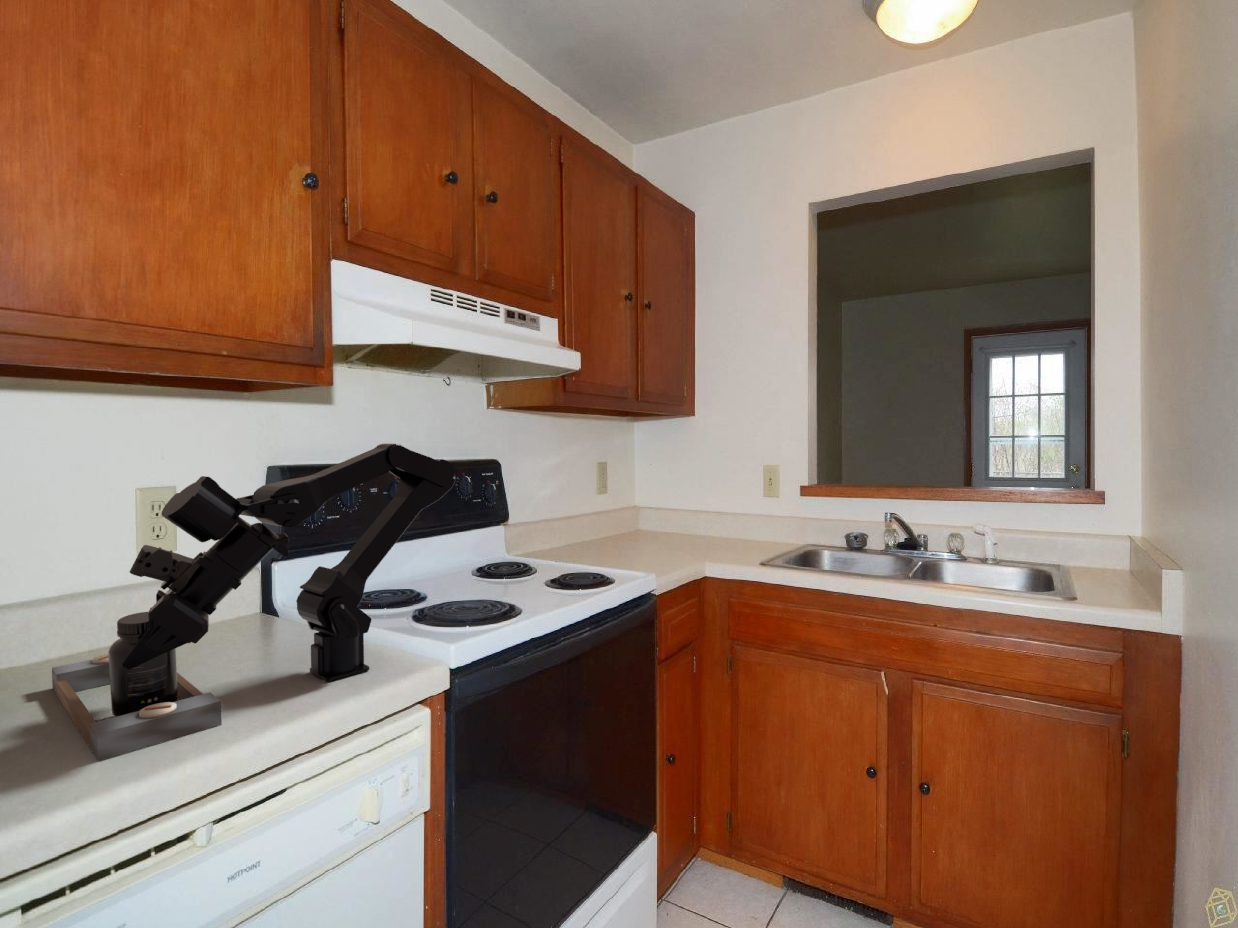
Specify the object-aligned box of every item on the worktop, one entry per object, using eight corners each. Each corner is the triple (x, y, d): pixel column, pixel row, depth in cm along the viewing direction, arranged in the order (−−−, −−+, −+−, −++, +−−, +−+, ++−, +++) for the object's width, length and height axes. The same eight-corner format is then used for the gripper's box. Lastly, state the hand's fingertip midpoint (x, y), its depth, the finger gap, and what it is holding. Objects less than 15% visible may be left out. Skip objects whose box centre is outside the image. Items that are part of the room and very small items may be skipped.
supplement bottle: (107, 707, 81) (103, 615, 80) (171, 691, 86) (168, 604, 85) (115, 727, 76) (111, 630, 75) (183, 709, 81) (180, 617, 80)
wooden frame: (154, 665, 99) (154, 643, 99) (221, 724, 79) (220, 695, 79) (52, 688, 90) (51, 663, 90) (98, 761, 70) (96, 728, 70)
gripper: (179, 514, 90) (82, 603, 85) (169, 531, 74) (48, 642, 69) (246, 564, 94) (157, 651, 89) (250, 589, 78) (142, 697, 73)
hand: (128, 658), depth 80 cm, fingers closed on supplement bottle, 7 cm apart
